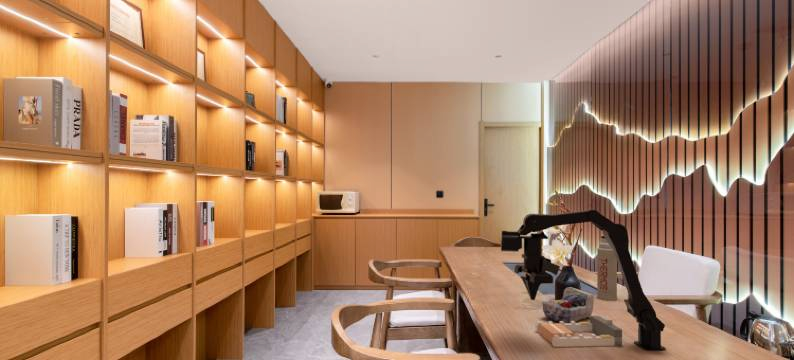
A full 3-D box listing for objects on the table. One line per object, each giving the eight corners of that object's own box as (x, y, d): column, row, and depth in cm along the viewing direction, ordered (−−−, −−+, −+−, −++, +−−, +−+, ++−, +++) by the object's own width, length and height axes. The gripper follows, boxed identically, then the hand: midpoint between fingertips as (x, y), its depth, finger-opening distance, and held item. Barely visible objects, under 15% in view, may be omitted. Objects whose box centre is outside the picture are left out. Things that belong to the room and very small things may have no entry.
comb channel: (622, 345, 138) (622, 324, 138) (554, 346, 136) (554, 325, 136) (596, 329, 153) (596, 311, 153) (535, 331, 151) (535, 312, 151)
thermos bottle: (608, 301, 192) (608, 237, 192) (593, 297, 199) (593, 235, 199) (621, 299, 195) (620, 236, 196) (605, 295, 202) (605, 234, 203)
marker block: (573, 344, 139) (573, 333, 139) (552, 344, 139) (552, 333, 139) (559, 333, 149) (559, 323, 149) (539, 334, 149) (539, 323, 149)
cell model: (597, 289, 167) (568, 298, 155) (598, 317, 167) (569, 329, 155) (566, 283, 177) (537, 291, 165) (567, 310, 177) (537, 319, 165)
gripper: (569, 256, 135) (569, 307, 135) (544, 248, 154) (545, 292, 153) (534, 256, 134) (534, 307, 134) (513, 248, 153) (514, 293, 153)
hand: (532, 299), depth 144 cm, fingers closed
